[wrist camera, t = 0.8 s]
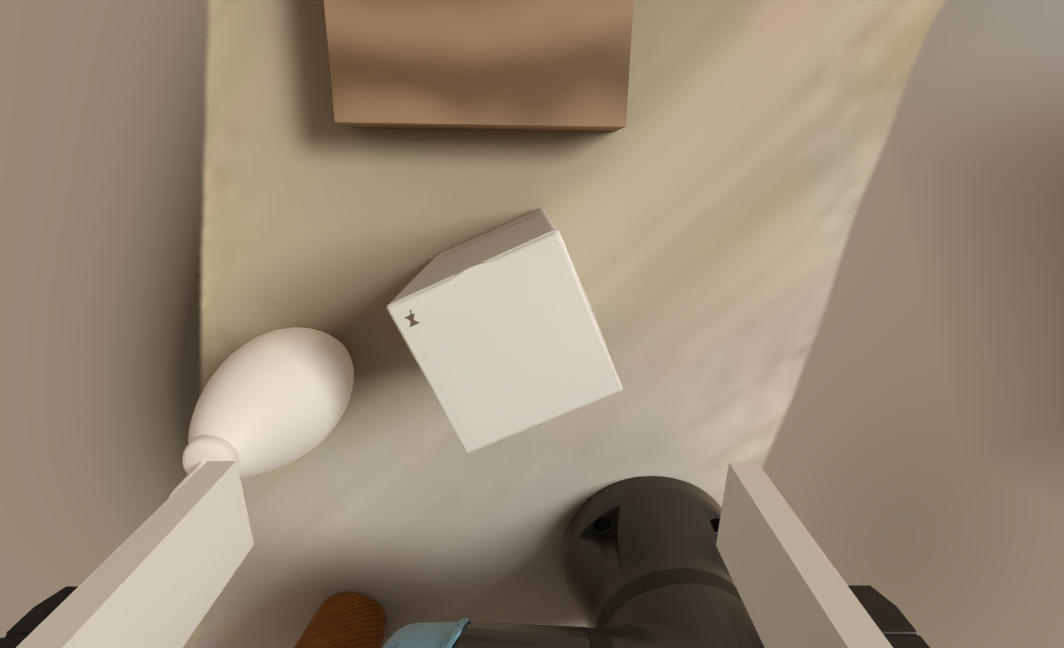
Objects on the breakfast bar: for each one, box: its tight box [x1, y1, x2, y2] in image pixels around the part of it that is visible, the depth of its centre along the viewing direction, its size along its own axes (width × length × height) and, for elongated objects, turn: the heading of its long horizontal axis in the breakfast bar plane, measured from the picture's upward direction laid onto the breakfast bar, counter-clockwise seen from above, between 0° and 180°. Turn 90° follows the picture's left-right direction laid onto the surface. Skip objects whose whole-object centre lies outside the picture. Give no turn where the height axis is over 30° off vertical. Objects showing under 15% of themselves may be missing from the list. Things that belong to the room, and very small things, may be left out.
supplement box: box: [387, 209, 623, 453], centre depth 31 cm, size 9×9×15 cm
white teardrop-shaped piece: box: [169, 327, 354, 498], centre depth 31 cm, size 8×8×18 cm
